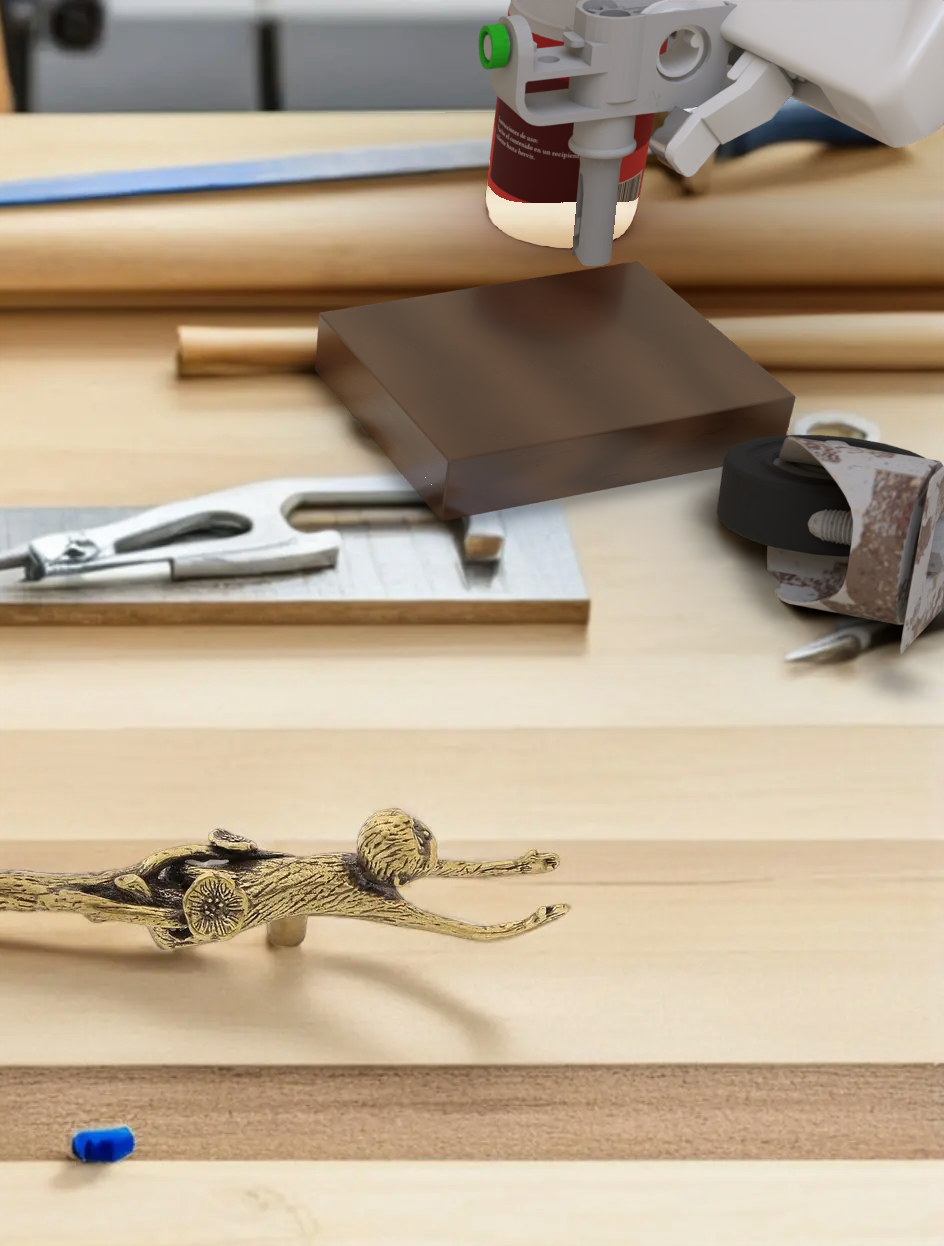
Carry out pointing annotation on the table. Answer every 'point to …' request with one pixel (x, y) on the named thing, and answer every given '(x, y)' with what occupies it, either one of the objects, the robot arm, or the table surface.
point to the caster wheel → (842, 524)
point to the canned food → (551, 129)
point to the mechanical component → (608, 87)
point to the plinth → (546, 387)
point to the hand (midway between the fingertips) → (627, 141)
